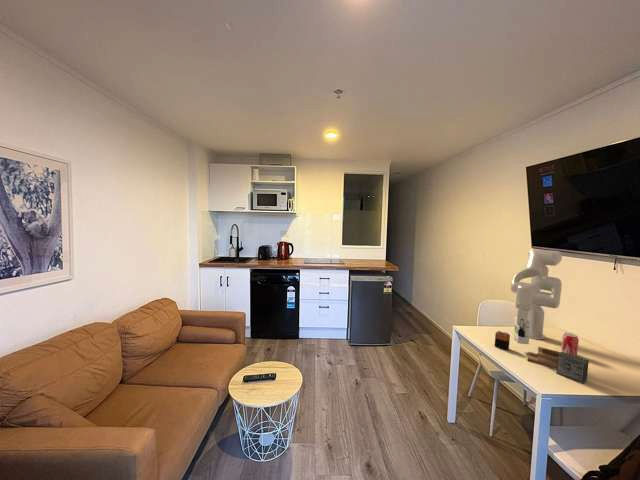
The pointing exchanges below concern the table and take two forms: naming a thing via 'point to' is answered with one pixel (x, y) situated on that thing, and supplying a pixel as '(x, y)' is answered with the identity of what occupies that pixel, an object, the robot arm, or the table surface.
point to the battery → (502, 340)
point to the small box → (572, 367)
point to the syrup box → (527, 328)
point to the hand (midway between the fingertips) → (521, 333)
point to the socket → (544, 357)
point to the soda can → (570, 343)
